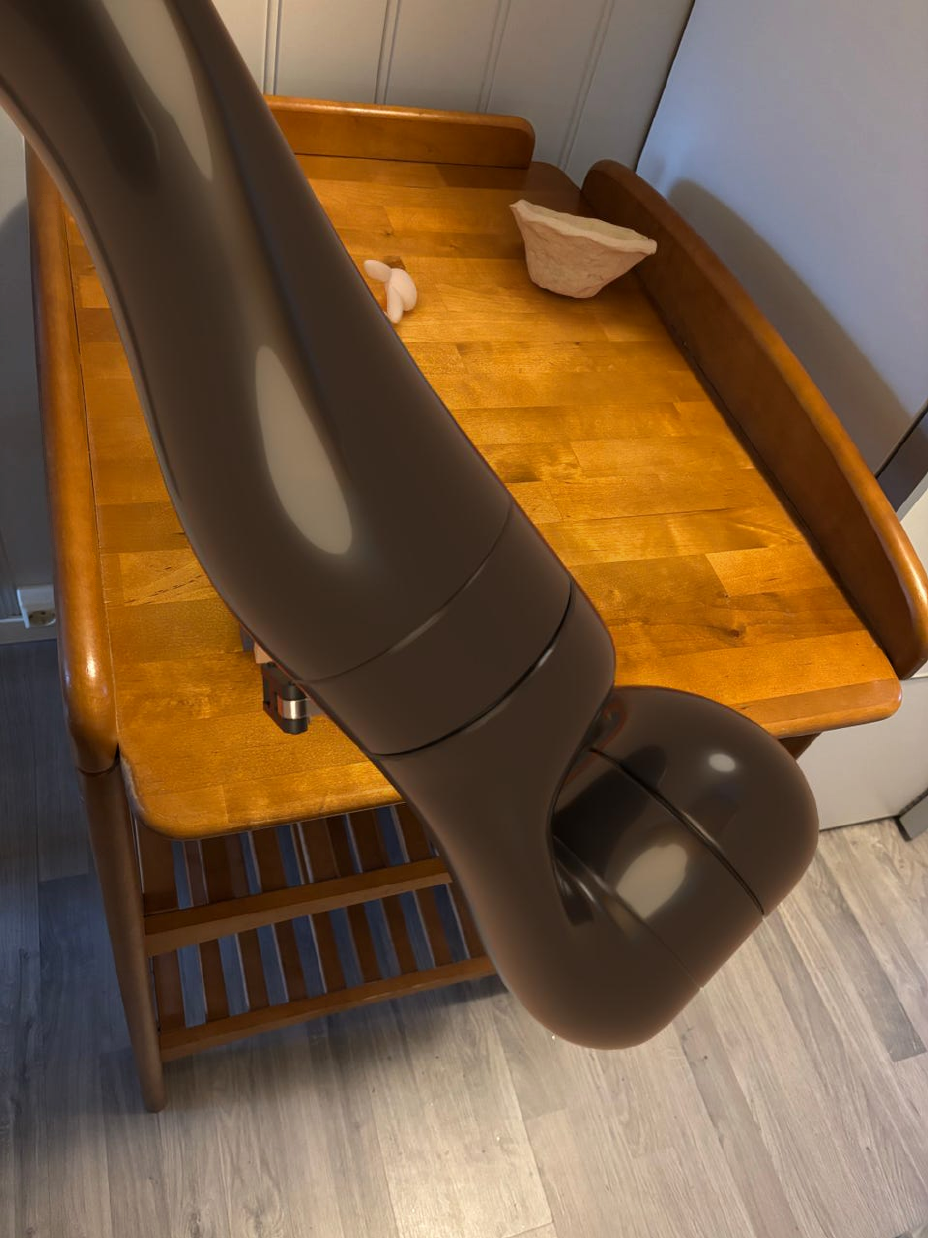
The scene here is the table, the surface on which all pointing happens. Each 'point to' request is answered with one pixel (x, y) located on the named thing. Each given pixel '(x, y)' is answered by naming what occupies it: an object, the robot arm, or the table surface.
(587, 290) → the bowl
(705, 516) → the table surface
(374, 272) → the rabbit figurine
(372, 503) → the robot arm
